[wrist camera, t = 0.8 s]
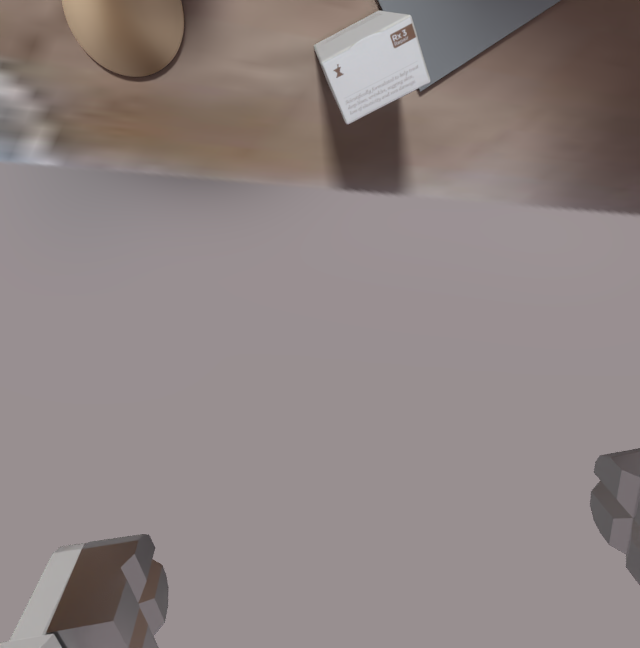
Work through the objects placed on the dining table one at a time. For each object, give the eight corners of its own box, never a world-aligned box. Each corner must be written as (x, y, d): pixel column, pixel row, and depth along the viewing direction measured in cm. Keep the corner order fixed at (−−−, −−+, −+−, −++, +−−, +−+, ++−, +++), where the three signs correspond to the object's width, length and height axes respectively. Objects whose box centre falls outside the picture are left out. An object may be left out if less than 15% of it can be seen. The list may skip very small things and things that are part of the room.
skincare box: (333, 95, 41) (345, 133, 32) (310, 41, 39) (315, 64, 29) (400, 61, 40) (434, 89, 30) (381, 2, 38) (411, 12, 28)
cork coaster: (124, -95, 34) (122, -95, 33) (207, 32, 38) (207, 32, 38) (37, -11, 36) (34, -11, 36) (125, 98, 41) (124, 99, 41)
